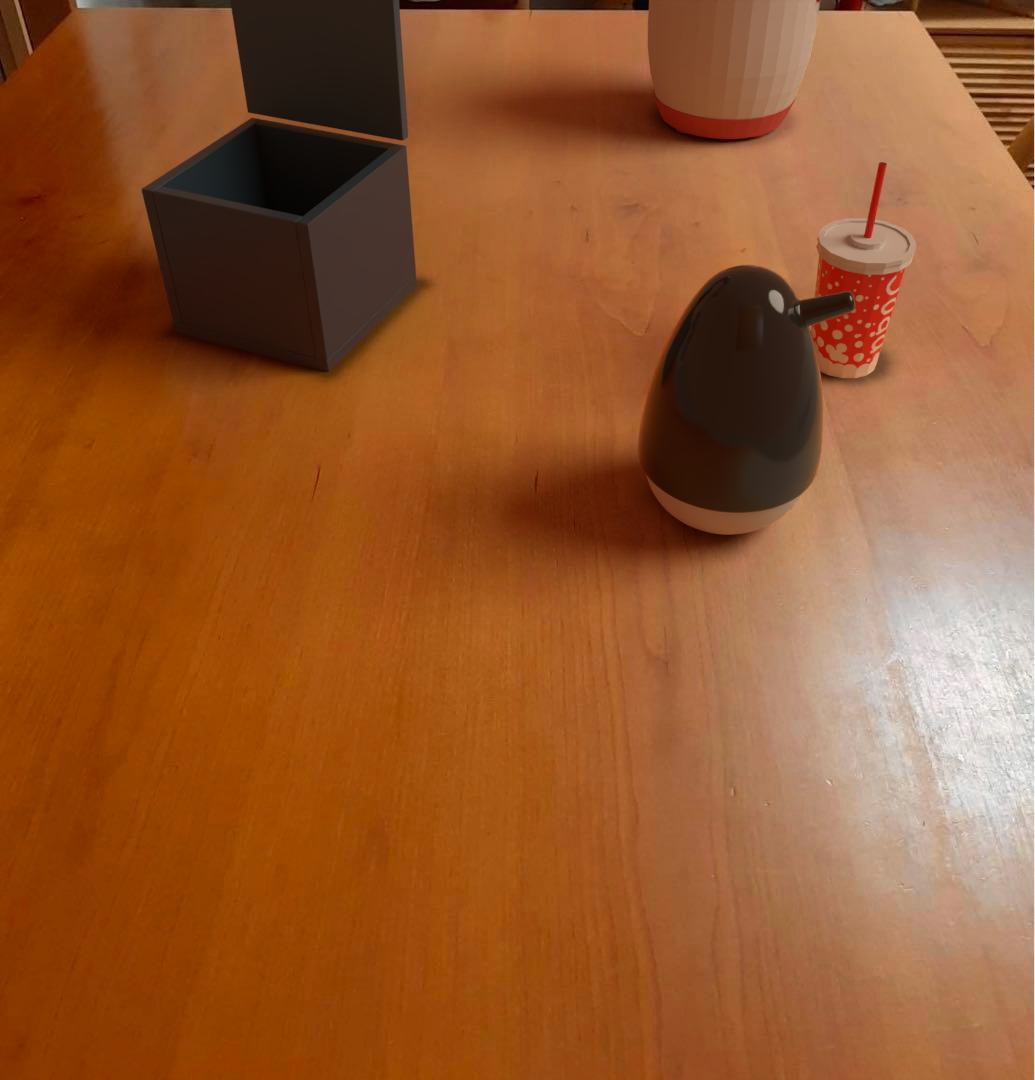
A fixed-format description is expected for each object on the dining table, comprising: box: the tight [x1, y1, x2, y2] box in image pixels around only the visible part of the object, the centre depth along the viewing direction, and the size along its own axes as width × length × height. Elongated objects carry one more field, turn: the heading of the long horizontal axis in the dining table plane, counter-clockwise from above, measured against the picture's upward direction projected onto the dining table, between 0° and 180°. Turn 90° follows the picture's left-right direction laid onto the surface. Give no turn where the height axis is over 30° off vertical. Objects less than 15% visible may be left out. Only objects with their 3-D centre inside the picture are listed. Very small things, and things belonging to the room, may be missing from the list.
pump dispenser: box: [637, 264, 855, 536], centre depth 63 cm, size 10×10×15 cm
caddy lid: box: [229, 0, 409, 142], centre depth 78 cm, size 14×13×1 cm
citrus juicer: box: [647, 0, 822, 140], centre depth 104 cm, size 16×17×20 cm
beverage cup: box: [810, 161, 918, 379], centre depth 75 cm, size 6×6×14 cm
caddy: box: [141, 117, 418, 373], centre depth 82 cm, size 13×13×11 cm
